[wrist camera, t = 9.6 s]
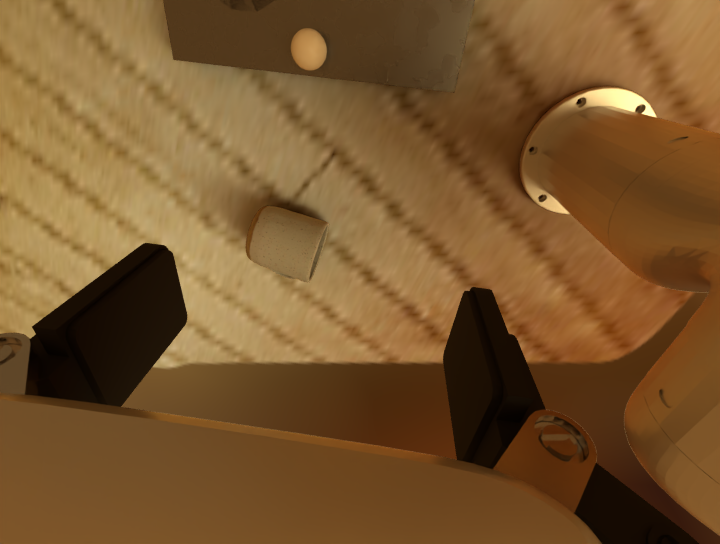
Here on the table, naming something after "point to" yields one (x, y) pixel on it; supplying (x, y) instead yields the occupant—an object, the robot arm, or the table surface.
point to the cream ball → (308, 49)
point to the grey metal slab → (328, 37)
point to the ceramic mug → (286, 242)
